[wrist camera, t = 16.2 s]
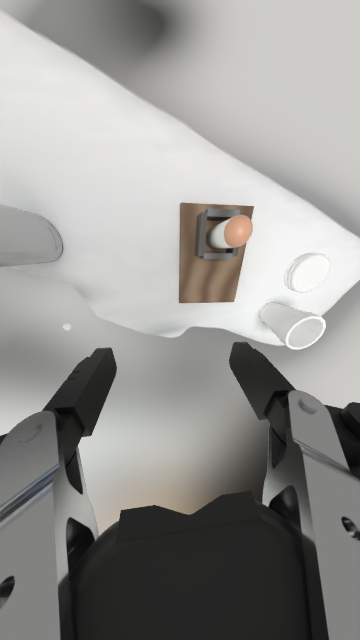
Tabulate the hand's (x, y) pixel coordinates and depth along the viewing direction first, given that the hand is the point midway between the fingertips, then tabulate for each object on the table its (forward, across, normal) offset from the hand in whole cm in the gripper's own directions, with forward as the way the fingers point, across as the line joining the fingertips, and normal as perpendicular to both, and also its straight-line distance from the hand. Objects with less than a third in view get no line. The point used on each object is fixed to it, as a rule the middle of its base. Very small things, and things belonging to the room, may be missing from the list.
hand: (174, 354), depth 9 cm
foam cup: (+30, -32, +11) cm, 45 cm away
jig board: (+30, -11, -4) cm, 32 cm away
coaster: (+30, -38, -1) cm, 49 cm away
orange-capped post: (+29, -11, -9) cm, 32 cm away
